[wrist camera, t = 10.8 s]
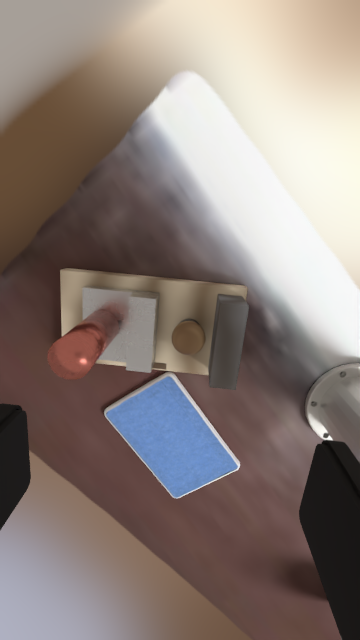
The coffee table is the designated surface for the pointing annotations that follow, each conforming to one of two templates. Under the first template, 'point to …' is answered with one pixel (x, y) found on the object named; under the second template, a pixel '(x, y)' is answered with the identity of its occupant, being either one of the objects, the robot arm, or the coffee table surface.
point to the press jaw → (109, 332)
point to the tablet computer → (172, 435)
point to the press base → (176, 321)
